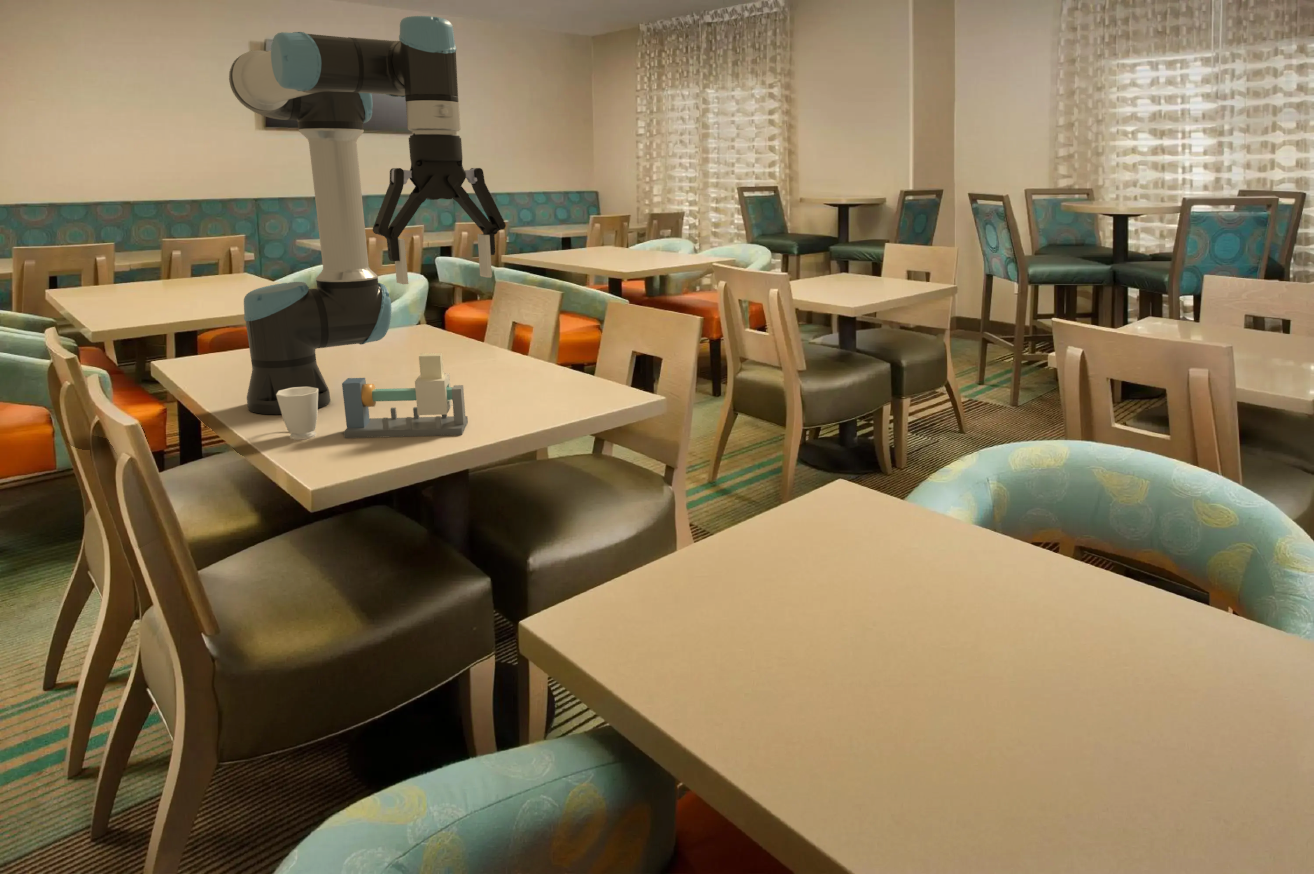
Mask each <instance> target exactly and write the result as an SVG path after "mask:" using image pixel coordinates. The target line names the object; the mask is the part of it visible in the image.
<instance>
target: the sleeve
mask: <svg viewBox="0 0 1314 874" xmlns="http://www.w3.org/2000/svg"><path fill="white" fill-rule="evenodd" d="M443 360H444V359H443V353H442V352H437V353H436V352H434V353H433V352H432V353H431V352H429V353H425V352H424V353H423V352H422V353H420V354H419V356H418V363H419V376H418V377H417V378H416V379H415V380H414V386H415V387H414V388H415V390H416V400H415V401H416V407H417V413H418V415H419V416H432V415H434V416H435V415H436V416H442V415H443V414H447V415H448V413H449V411H450V410H451V408H452V407H453V400H447V390H446V387H451V378H450V377H451V375H450V373H449V372H446V373H445V372H444V361H443Z"/></svg>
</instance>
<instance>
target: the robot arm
mask: <svg viewBox="0 0 1314 874" xmlns="http://www.w3.org/2000/svg"><path fill="white" fill-rule="evenodd" d="M454 33H455V32H454V26H453V24H452V23H451V21H449V20H448V19H446V18H444V17H438V16H432V15H412V16H407V17H406V16H405V17H403V18H402V19H401V20H400V21H399V35H398V40H388V39H376V38H374V39H373V38H363V37H349V36H348V37H346V36H345V37H344V36H335V35H326V34H325V35H324V34H323V35H322V34H313V33H306V32H304V31H303V32H302V31H294V32H287V31H285V32H284V31H281V32H278V33H275V35H274V36H273V38H272V42H271V46H270V49H269V50H261V49H260V50H259V49H256V50H249V51H247V52H244V53H243V54H241V55H239V56H238V57H237V58H236V59H235V60H234V61H233V63H232V64H231V65H230V69H229V73H228V77H229V78H228V80H229V85H230V86H229V87H230V89H231V91H232V93H233V95H234V97H235V99H236V100H238V101H239V103H240V104H242V105H243V106H244V107H245V108H247V109H248V110H250V111H251V112H253V113H255V114H258V115H260V116H263V117H267V118H270V119H274V120H282V121H283V120H285V121H297V128H298V132H299V133H300V134H301V135H302V136H303V137H304V138H305V139H307V141H308V146H309V155H310V164H311V165H310V166H311V174H312V183H313V190H314V191H313V192H314V199H315V208H316V217H317V225H318V227H317V228H318V234H319V243H320V253H321V261H322V270H321V272H320V273H319V274H318V275H317V276H316V277H315V282H316V287H315V288H310V287H309V286H308V284H307V283H306V282H304V281H292V282H282V283H277V284H270V285H266V286H261V287H259V288H255V289H253V290H250V291H249V292H248V293H246V294H245V296H244V298H243V311H244V312H243V313H244V314H243V320H244V321H245V327H246V333H247V340H248V346H249V347H248V348H249V353H250V360H251V368H252V369H251V374H250V380H249V383H248V389H247V395H246V404H247V410H248V411H250V412H253V413H256V414H261V415H263V414H264V415H282V413H281V410H280V406H279V403H278V400H277V397H276V394H277V392H278V391H279V390H284V389H288V388H292V387H313V388H318V409H319V408H323V407H325V406H327V405H328V404H330V402H331V394H330V389H329V387H328V385H327V383H326V381H325V379H324V376H323V375H322V372H321V371H320V368H319V366H318V364H317V363H318V362H317V357H316V356H317V354H316V350H317V349H323V348H324V349H326V348H334V347H340V346H349V345H366V344H367V343H373V342H379V341H380V340H383V338H384V337H385V336H386V335H387V333H388V331H389V329H390V325H391V322H392V299H391V297H390V291H389V289H388V288H387V287H388V286H386V285H385V284H384V283H381V282H379V277H378V274H376V272H375V271H373V270H372V269H371V268H370V265H369V256H368V255H369V254H368V246H367V237H366V236H367V235H366V227H365V215H364V206H363V205H364V204H363V196H362V195H363V194H362V184H361V174H360V165H359V163H360V162H359V155H358V153H359V152H358V144H357V143H358V142H357V141H358V140H359V138H360V136H362V134H363V133H364V132H365V131H364V124H366V123H368V122H369V121H370V120H371V119H372V116H373V108H374V106H373V105H374V104H373V94H375V95H386V96H390V97H392V98H393V97H394V98H395V97H401V98H404V99H405V110H406V111H405V112H406V124H407V125H406V126H407V130H408V131H409V132H411V133H412V134H411V135H409V137H408V147H409V158H410V159H409V160H410V168H409V170H408V169H402V168H400V167H392V168H391V169H389V184H388V187H387V189H386V192H385V196H384V198H383V200H382V203H381V206H380V208H379V212H378V214H377V215H376V219H375V221H374V224H373V227H372V232H373V234H375V235H379V236H382V237H384V238H385V239H386V245H387V246H386V247H387V255H388V260H389V261H391V262H394V265H395V279H396V283H397V284H400V285H408V284H409V276H408V265H407V264H408V263H407V251H406V241H405V238H399V237H400V236H401V235H402V233H403V231H404V230H405V228H406V227H407V225H408V224H409V223H410V221H411V220H412V218H413V217H414V216H415V214H416V213H417V211H418V210H419V208H420V207H421V205H422V204H423V203H425V201H426V200H433V201H434V200H454V201H455V202H457V204H458V205H459V206H460V207H461V209H463V211H464V212H465V213H466V214H467V215H468V216H469V218H470V219H471V220H472V222H473V223H474V224H475V225H476V226H477V227H478V229H479V230H480V232H482V233H477V248H478V264H479V267H478V268H479V277H482V278H483V277H484V278H486V279H487V278H490V279H491V278H492V277H493V273H492V272H493V271H492V269H493V268H492V256H494V255H495V254H496V243H495V242H496V241H495V239H496V238H495V235H496V234H497V233H498V231H501V230H505V228H506V226H507V225H506V222H505V221H504V218H503V215H502V214H501V212H500V210H499V208H498V206H497V205H496V202H495V200H494V198H493V196H492V195H491V192H490V190H489V187H488V186H487V184H486V181H485V174H484V170H483V168H481V167H471V168H470V169H465V168H464V166H463V148H462V146H463V145H462V137H460V135H457V133H458V132H460V130H461V117H460V103H459V89H458V88H459V87H458V70H457V69H458V67H457V49H458V48H457V45H456V43H455V42H456V41H455V34H454ZM408 180H410V181H411V182H412V184H413V185H414V188H413V190H412V191H411V192H410V194H409V195H408V199H407V200H406V201H405V202H404V204H403V206H402V207H401V208H400V210H399V212H398V213H397V214H396V216H395V217H394V219H393V220H392V218H393V216H394V213H395V211H396V208H397V206H398V202H399V199H400V197H401V196H402V195H401V194H402V192H403V188H404V185H406V184H407V183H408ZM465 180H467V182H468V183H469V184H470V185H471V187H472V190H473V192H474V193H475V196H476V197H477V199H478V201H479V204H480V206H481V207H482V209H483V211H484V213H485V214H484V213H483V212H482V211H481V210H480V208H479V207H478V206H477V204H476V203H474V201H473V199H471V198H470V197H471V196H470V195H469V193H468V192H467V190H465V189H464V187H463V186H462V185H463V184H464V182H465Z"/></svg>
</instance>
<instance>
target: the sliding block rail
mask: <svg viewBox="0 0 1314 874" xmlns="http://www.w3.org/2000/svg"><path fill="white" fill-rule="evenodd" d="M366 381H367V380H366V377H348V378H346V379H345V380H344V381H343V382H341V386H342V397H343V398H342V399H343V405H344V415H345V423H346V429H344V431H343V437H344V439H354V438H355V439H356V438H357V439H358V438H359V439H361V438H392V437H393V438H395V437H396V438H397V437H400V438H401V437H402V438H403V437H428V436H429V437H430V436H431V437H432V436H433V437H434V436H462V435H463V434H464V432H465V431H466V427H467V425H468V422H469V419H468V416H467V415H466V406H465V392H464V391H465V390H464V389H465V388H464V385H463V384H455V385H453V386H452V387H451V386H450V387H446V390H447V400H451V401H452V410H453V412H452V413H453V415H452V416H450V415H449V416H448V413H447V414H443V415H436V416H420V415H418V413H417V406H414V407H412V412H413V417H412V416H406V417H398V415H397V407H396V406H395V407H394V406H393V407H390V417H380V418H379V417H377V418H375V417H374V418H373V417H372V418H370V411H369V410H370V409H369V407H371V408H372V407H374V408H375V406H376V404H377V402H406V401H408V402H409V401H416V390H415V387H409V388H408V387H405V388H402V387H401V388H397V387H396V388H376V385H375V384H374V383H367V382H366Z"/></svg>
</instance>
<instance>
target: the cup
mask: <svg viewBox="0 0 1314 874" xmlns="http://www.w3.org/2000/svg"><path fill="white" fill-rule="evenodd" d="M276 397H277V400H278V403H279V406H280V410H281V413H282V414H281V416H282V420H283V422H284V424H285V427H286V429H287V432H288V433H289V434H290V435H289V439H291V440H295V441H300V440H308V439H312V438H315V437H316V436H317V431H315V430H316V428H317V422H318V421H317V420H318V413H319V412H318V409H319V408H318V388H313V387H292V388H288V389H284V390H279V391H278V392H277V394H276Z"/></svg>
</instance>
